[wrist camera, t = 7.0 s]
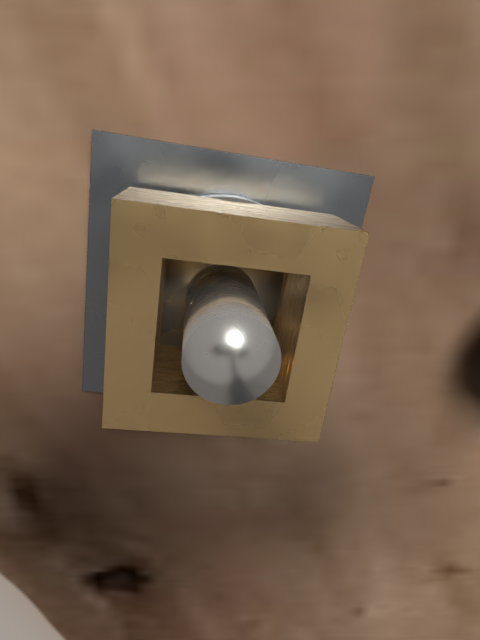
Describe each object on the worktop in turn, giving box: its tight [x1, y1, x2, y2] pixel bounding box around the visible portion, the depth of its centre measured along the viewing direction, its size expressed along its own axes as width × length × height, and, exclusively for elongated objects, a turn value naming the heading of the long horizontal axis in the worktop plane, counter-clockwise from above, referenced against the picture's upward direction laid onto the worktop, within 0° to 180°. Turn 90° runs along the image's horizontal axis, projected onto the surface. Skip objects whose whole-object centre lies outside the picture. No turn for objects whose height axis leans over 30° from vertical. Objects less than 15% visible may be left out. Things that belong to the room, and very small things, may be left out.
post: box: [82, 130, 374, 405], centre depth 15 cm, size 10×10×7 cm
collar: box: [102, 187, 369, 442], centre depth 15 cm, size 7×7×4 cm
